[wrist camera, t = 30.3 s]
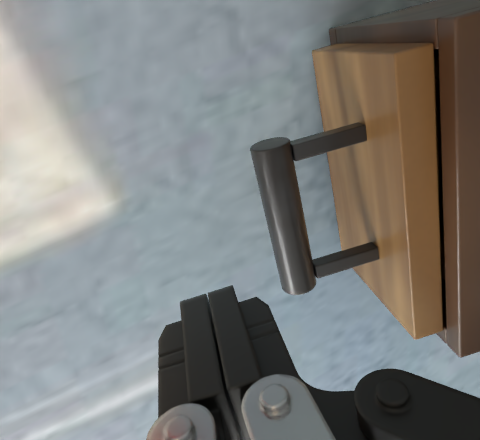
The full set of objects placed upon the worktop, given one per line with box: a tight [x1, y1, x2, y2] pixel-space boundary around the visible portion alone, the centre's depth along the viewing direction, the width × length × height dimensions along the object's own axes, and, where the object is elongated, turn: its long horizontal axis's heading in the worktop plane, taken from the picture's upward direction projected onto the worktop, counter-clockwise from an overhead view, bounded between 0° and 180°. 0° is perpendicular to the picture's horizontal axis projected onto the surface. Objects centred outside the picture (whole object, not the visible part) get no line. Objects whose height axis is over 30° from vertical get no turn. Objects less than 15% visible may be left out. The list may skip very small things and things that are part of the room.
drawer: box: [250, 43, 445, 340], centre depth 17 cm, size 18×10×7 cm, turn 104°
